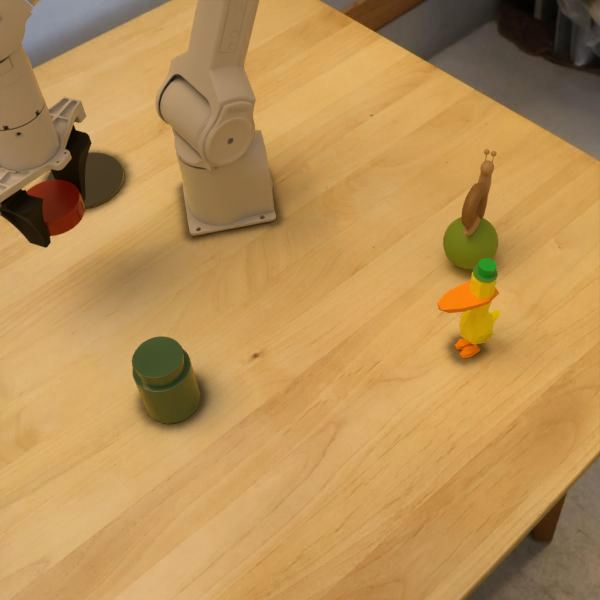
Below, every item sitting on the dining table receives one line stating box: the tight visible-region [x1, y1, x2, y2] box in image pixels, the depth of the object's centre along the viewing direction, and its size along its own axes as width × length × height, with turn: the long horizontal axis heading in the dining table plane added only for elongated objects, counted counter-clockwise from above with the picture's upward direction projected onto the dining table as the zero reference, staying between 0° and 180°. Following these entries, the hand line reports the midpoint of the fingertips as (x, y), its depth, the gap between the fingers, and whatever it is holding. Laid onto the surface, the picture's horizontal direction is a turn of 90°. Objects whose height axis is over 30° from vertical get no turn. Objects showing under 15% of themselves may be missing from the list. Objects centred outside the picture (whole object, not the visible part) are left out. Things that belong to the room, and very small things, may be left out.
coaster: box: [46, 151, 125, 210], centre depth 99 cm, size 9×9×1 cm
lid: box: [26, 180, 86, 237], centre depth 81 cm, size 6×6×2 cm
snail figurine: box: [442, 148, 499, 270], centre depth 83 cm, size 5×6×12 cm
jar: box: [131, 335, 201, 425], centre depth 77 cm, size 5×5×7 cm
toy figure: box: [436, 258, 503, 359], centre depth 76 cm, size 7×4×12 cm, turn 112°
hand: (57, 220), depth 82 cm, fingers closed on lid, 5 cm apart
